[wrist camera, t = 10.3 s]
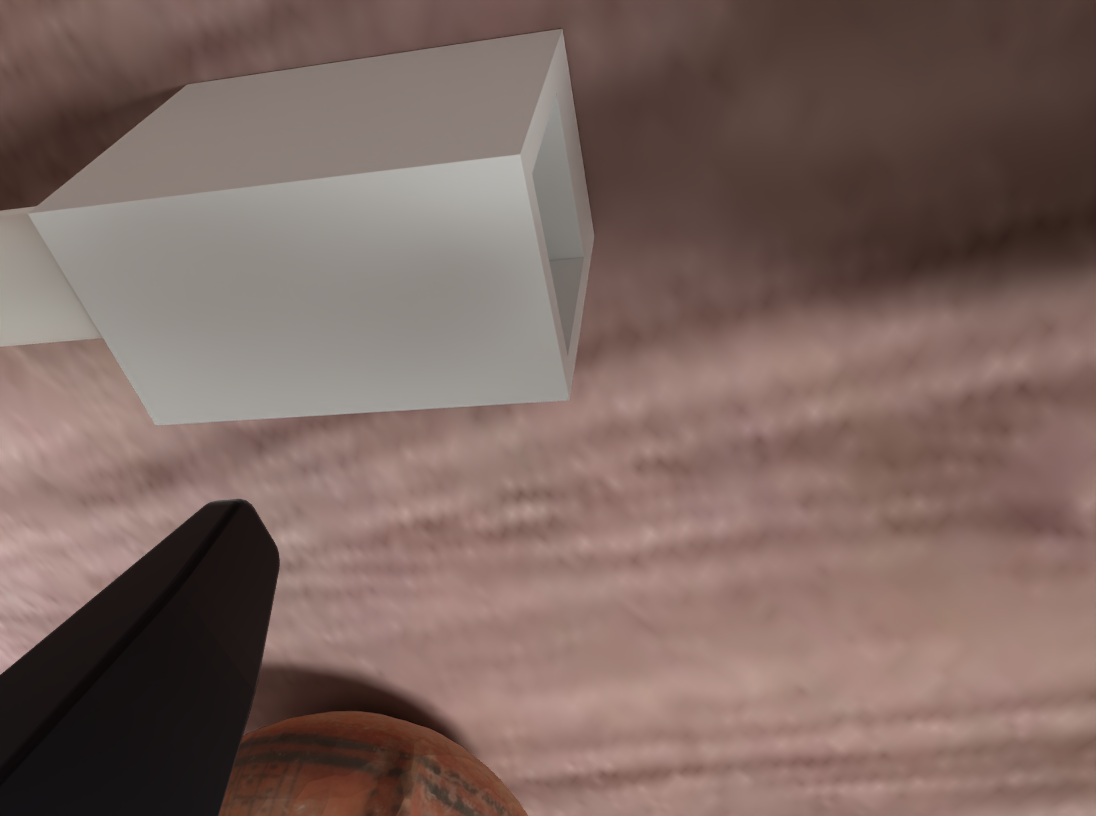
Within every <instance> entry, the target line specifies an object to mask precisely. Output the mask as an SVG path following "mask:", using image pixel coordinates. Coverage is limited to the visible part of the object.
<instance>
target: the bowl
mask: <svg viewBox="0 0 1096 816" xmlns="http://www.w3.org/2000/svg"><path fill="white" fill-rule="evenodd" d="M219 816H528V815H527V813H526V812H525V810H524V809H523V808H522V806H521V804H520V803H519V801H518V800H517V799H516V798H515V796H514V795H513V794H512V793H511V792H510V791H509V789H508V788H507V787H506V786H505V785H504V783H503V782H502V781H501V780H500V779H499V778H498V777H497V776H496V775H495V774H494V773H493V772H492V771H491V770H490V769H489V768H488V767H487V766H485V765H484V764H483V763H482V762H481V761H479V760H478V759H477V758H476V757H474V756H473V755H472V754H471V753H469V752H468V751H467V750H466V749H464V748H463V747H462V746H460V745H458V744H457V743H455V742H453V741H452V740H450V739H448V738H447V737H445V736H443V735H442V734H440V733H438V732H436V731H434V730H432V729H430V728H426V727H423V726H420V725H416V724H414V723H411V722H408V721H405V720H401V719H396V718H393V717H389V716H386V715H382V714H377V713H370V712H362V711H332V712H325V713H318V714H311V715H305V716H299V717H294V718H289V719H286V720H283V721H281V722H278V723H275V724H272V725H269V726H266V727H263V728H260V729H258V730H257V731H254V732H251V733H248V734H247V735H245V736H243V737H242V740H241V743H240V747H239V750H238V753H237V757H236V760H235V763H234V767H233V770H232V773H231V777H230V780H229V783H228V787H227V790H226V793H225V797H224V800H223V803H222V807H221V810H220V813H219Z"/></svg>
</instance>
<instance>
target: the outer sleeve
mask: <svg viewBox="0 0 1096 816" xmlns="http://www.w3.org/2000/svg"><path fill="white" fill-rule="evenodd" d="M28 215H29V217H30V218H31V220H32V222H33V223H34V225H35V227H36V228H37V230H38V232H39V233H40V235H41V237H42V238H43V240H44V242H45V243H46V245H47V246H48V248H49V250H50V251H51V253H52V255H53V256H54V258H55V260H56V261H57V263H58V265H59V266H60V268H61V270H62V271H63V273H64V275H65V276H66V278H67V280H68V281H69V283H70V284H71V286H72V288H73V289H74V291H75V293H76V294H77V296H78V298H79V299H80V301H81V303H82V304H83V306H84V308H85V309H86V311H87V313H88V314H89V316H90V318H91V319H92V321H93V322H94V324H95V326H96V327H97V329H98V331H99V332H100V334H101V336H102V337H103V339H104V341H105V342H106V344H107V346H108V347H109V349H110V351H111V352H112V354H113V356H114V357H115V359H116V360H117V362H118V364H119V365H120V367H121V369H122V370H123V372H124V374H125V375H126V377H127V379H128V380H129V382H130V384H131V385H132V387H133V389H134V390H135V392H136V393H137V395H138V397H139V398H140V400H141V402H142V403H143V405H144V407H145V408H146V410H147V412H148V413H149V415H150V417H151V418H152V420H153V422H154V423H155V425H156V426H157V425H173V424H189V423H206V422H222V421H238V420H255V419H271V418H288V417H304V416H320V415H337V414H353V413H369V412H386V411H402V410H418V409H435V408H451V407H468V406H484V405H500V404H517V403H533V402H549V401H566V400H570V394H571V388H572V381H573V374H574V368H575V361H576V355H577V348H578V341H579V335H580V328H581V322H582V315H583V308H584V302H585V295H586V289H587V282H588V275H589V269H590V262H591V256H592V249H593V242H594V230H593V223H592V217H591V210H590V204H589V197H588V191H587V184H586V178H585V171H584V165H583V158H582V152H581V146H580V139H579V133H578V126H577V120H576V113H575V107H574V100H573V94H572V87H571V81H570V74H569V68H568V61H567V55H566V48H565V42H564V35H563V29H557V30H550V31H543V32H536V33H530V34H523V35H516V36H510V37H503V38H496V39H489V40H483V41H476V42H469V43H463V44H456V45H449V46H442V47H436V48H429V49H422V50H416V51H409V52H402V53H395V54H389V55H382V56H375V57H369V58H362V59H355V60H348V61H342V62H335V63H328V64H322V65H315V66H308V67H301V68H295V69H288V70H281V71H275V72H268V73H261V74H254V75H248V76H241V77H234V78H228V79H221V80H214V81H207V82H201V83H194V84H187V85H186V86H185V87H183V88H182V89H181V90H180V91H179V92H177V93H176V94H175V95H174V96H172V97H171V98H170V99H169V100H167V101H166V102H165V103H164V104H162V105H161V106H160V107H159V108H158V109H156V110H155V111H154V112H153V113H151V114H150V115H149V116H148V117H146V118H145V119H144V120H143V121H141V122H140V123H139V124H138V125H137V126H135V127H134V128H133V129H132V130H130V131H129V132H128V133H127V134H125V135H124V136H123V137H122V138H120V139H119V140H118V141H117V142H116V143H114V144H113V145H112V146H111V147H109V148H108V149H107V150H106V151H104V152H103V153H102V154H101V155H99V156H98V157H97V158H96V159H95V160H93V161H92V162H91V163H90V164H88V165H87V166H86V167H85V168H83V169H82V170H81V171H80V172H78V173H77V174H76V175H75V176H74V177H72V178H71V179H70V180H69V181H67V182H66V183H65V184H64V185H62V186H61V187H60V188H59V189H57V190H56V191H55V192H54V193H52V194H51V195H50V196H49V197H48V198H46V199H45V200H44V201H43V202H41V203H40V204H39V205H38V206H36V207H35V208H34V209H33V210H31V211H30V212H29V213H28Z"/></svg>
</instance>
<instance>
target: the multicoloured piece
mask: <svg viewBox="0 0 1096 816" xmlns="http://www.w3.org/2000/svg"><path fill="white" fill-rule="evenodd" d="M35 207H36V206H34V207H26V208H18V209H9V210H1V211H0V347H4V346H16V345H28V344H40V343H51V342H63V341H75V340H87V339H98V338H103V337H102V336H101V334H100V332H99V331H98V329H97V327H96V326H95V324H94V322H93V321H92V319H91V318H90V316H89V314H88V313H87V311H86V309H85V308H84V306H83V304H82V303H81V301H80V299H79V298H78V296H77V294H76V293H75V291H74V289H73V288H72V286H71V284H70V283H69V281H68V280H67V278H66V276H65V275H64V273H63V271H62V270H61V268H60V266H59V265H58V263H57V261H56V260H55V258H54V256H53V255H52V253H51V251H50V250H49V248H48V246H47V245H46V243H45V242H44V240H43V238H42V237H41V235H40V233H39V232H38V230H37V228H36V227H35V225H34V223H33V222H32V220H31V218H30V217H29V215H28V213H29V212H30V211H31V210H33V209H34V208H35Z"/></svg>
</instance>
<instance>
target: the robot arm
mask: <svg viewBox="0 0 1096 816" xmlns="http://www.w3.org/2000/svg"><path fill="white" fill-rule="evenodd" d="M279 566H280V559H279V552H278V549H277V546H276V544H275V542H274V541H273V539H272V537H271V536H270V534H269V532H268V530H267V529H266V527H265V525H264V524H263V522H262V520H261V519H260V517H259V515H258V514H257V512H256V510H255V509H254V507H253V506H252V504H250V503H249V502H248V501H246V500H242V499H233V500H221V501H214V502H210V503H208V504H206V505H205V506H204V507H202V508H201V509H200V510H199V511H198V512H196V513H195V514H194V515H193V516H192V517H190V518H189V519H188V520H187V521H186V522H184V523H183V524H182V525H181V526H180V527H178V528H177V529H176V530H175V531H173V532H172V533H171V534H170V535H169V536H167V537H166V538H165V539H164V540H163V541H161V542H160V543H159V544H158V545H157V546H155V547H154V548H153V549H152V550H151V551H149V552H148V553H147V554H146V555H145V556H143V557H142V558H141V559H140V560H138V561H137V562H136V563H135V564H134V565H132V566H131V567H130V568H129V569H128V570H126V571H125V572H124V573H123V574H122V575H120V576H119V577H118V578H117V579H116V580H114V581H113V582H112V583H111V584H110V585H108V586H107V587H106V588H105V589H104V590H102V591H101V592H100V593H99V594H97V595H96V596H95V597H94V598H93V599H91V600H90V601H89V602H88V603H87V604H85V605H84V606H83V607H82V608H81V609H79V610H78V611H77V612H76V613H75V614H73V615H72V616H71V617H70V618H69V619H67V620H66V621H65V622H64V623H62V624H61V625H60V626H59V627H58V628H56V629H55V630H54V631H53V632H52V633H50V634H49V635H48V636H47V637H46V638H44V639H43V640H42V641H41V642H40V643H38V644H37V645H36V646H35V647H34V648H32V649H31V650H30V651H29V652H27V653H26V654H25V655H24V656H23V657H21V658H20V659H19V660H18V661H17V662H15V663H14V664H13V665H12V666H11V667H9V668H8V669H7V670H6V671H5V672H3V673H2V674H1V675H0V816H219V813H220V810H221V807H222V803H223V800H224V797H225V793H226V790H227V787H228V783H229V780H230V777H231V773H232V770H233V767H234V763H235V760H236V757H237V753H238V750H239V747H240V743H241V740H242V737H243V733H244V730H245V727H246V723H247V720H248V717H249V713H250V710H251V706H252V702H253V699H254V695H255V691H256V687H257V682H258V678H259V673H260V669H261V663H262V658H263V653H264V647H265V642H266V637H267V631H268V626H269V621H270V615H271V610H272V605H273V599H274V594H275V589H276V583H277V578H278V573H279Z"/></svg>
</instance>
